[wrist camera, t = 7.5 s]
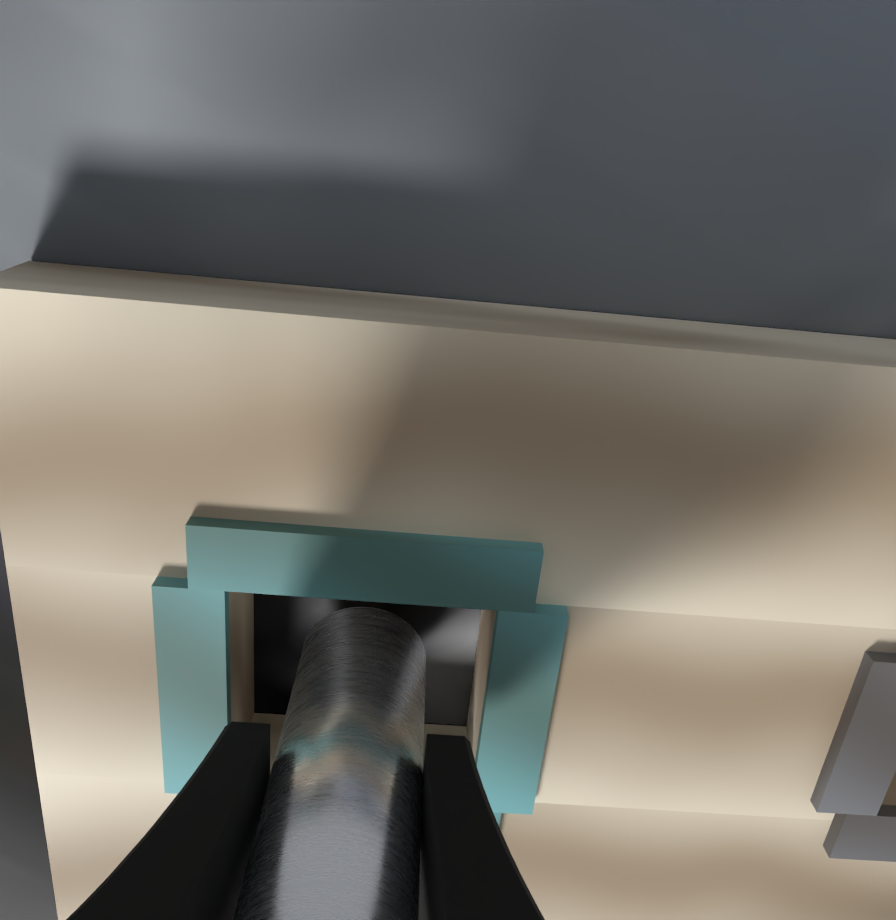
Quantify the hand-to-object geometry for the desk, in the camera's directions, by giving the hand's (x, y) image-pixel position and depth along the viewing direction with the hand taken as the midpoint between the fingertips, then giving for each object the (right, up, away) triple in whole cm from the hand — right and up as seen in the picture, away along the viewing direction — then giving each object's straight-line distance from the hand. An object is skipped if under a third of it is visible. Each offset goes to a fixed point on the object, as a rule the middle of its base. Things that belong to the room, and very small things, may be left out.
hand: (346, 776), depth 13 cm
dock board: (+6, +1, +4) cm, 7 cm away
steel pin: (0, +1, +3) cm, 3 cm away
